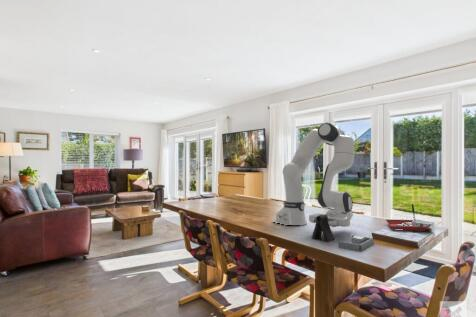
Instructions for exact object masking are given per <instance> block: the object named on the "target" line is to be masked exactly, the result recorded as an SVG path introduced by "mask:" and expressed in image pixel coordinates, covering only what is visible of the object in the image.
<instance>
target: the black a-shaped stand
mask: <svg viewBox="0 0 476 317" xmlns="http://www.w3.org/2000/svg"><path fill="white" fill-rule="evenodd" d="M322 214H323V215H320V216H317V217H316V223H315V225H314V229H313V232H312V235H311V236H312V237H311V239H312V240H316V241H321V242H325V243H329V242H331V241H333V240H335V238H334V235H333V231H332V229H331V226H330V225H328V224H329V223H328V217H327V215H326V214H325V213H322ZM322 235H323V236H322Z"/></svg>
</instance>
